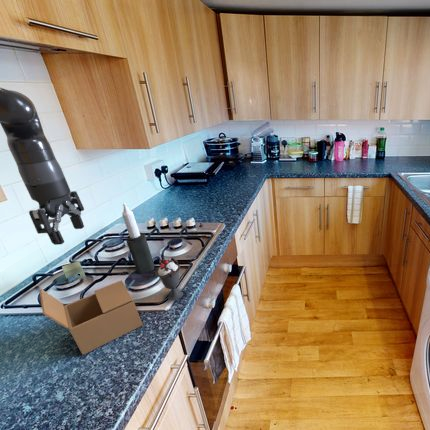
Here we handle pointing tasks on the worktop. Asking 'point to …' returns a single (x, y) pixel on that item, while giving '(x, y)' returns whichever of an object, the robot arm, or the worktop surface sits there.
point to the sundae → (170, 277)
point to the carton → (102, 317)
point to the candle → (137, 244)
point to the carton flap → (53, 308)
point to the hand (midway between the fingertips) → (70, 235)
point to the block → (73, 270)
